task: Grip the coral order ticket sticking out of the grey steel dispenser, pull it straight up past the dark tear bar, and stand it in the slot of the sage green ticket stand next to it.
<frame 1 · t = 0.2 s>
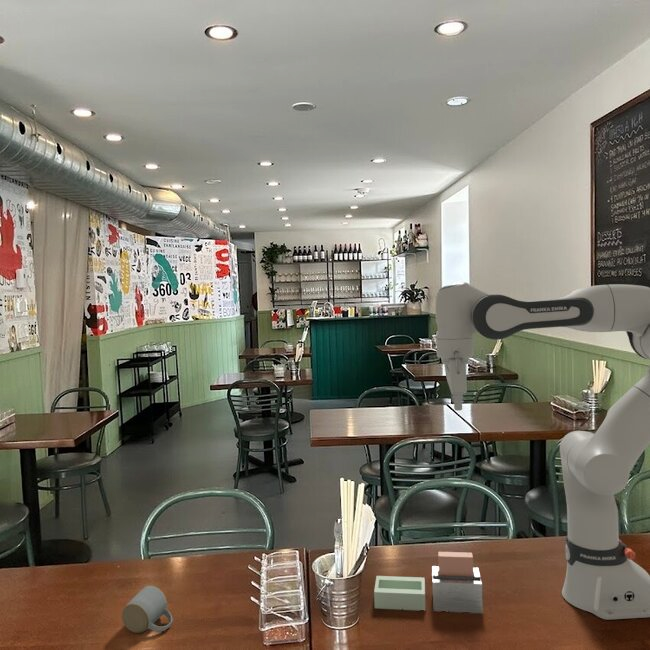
hand: (456, 406, 140), 47 cm above the table, tool pointing down, fingers open, 8 cm apart
ticket stand: (400, 600, 140), on the table
wineglass: (345, 563, 161), on the table
ceramic mug: (150, 626, 134), on the table
dispenser: (456, 603, 138), on the table
ticket: (456, 595, 138), point 2 cm above the table, touching dispenser
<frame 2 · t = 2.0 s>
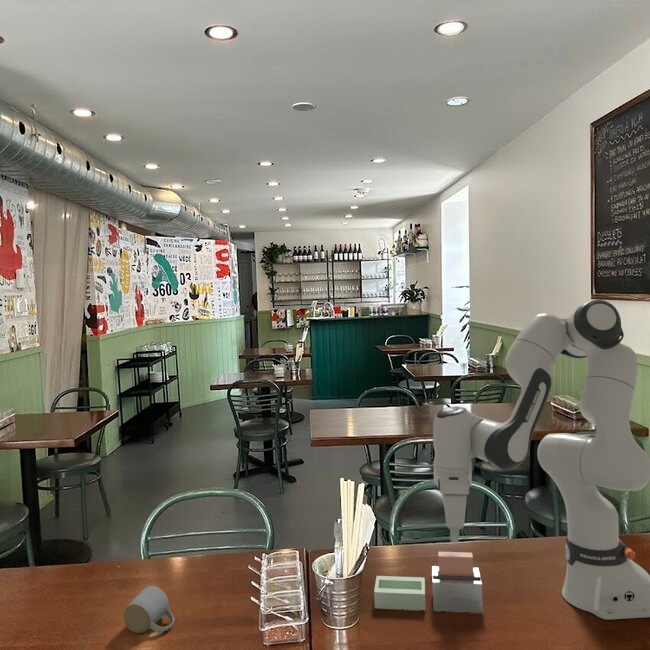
hand: (453, 533, 137), 17 cm above the table, tool pointing down, fingers open, 8 cm apart
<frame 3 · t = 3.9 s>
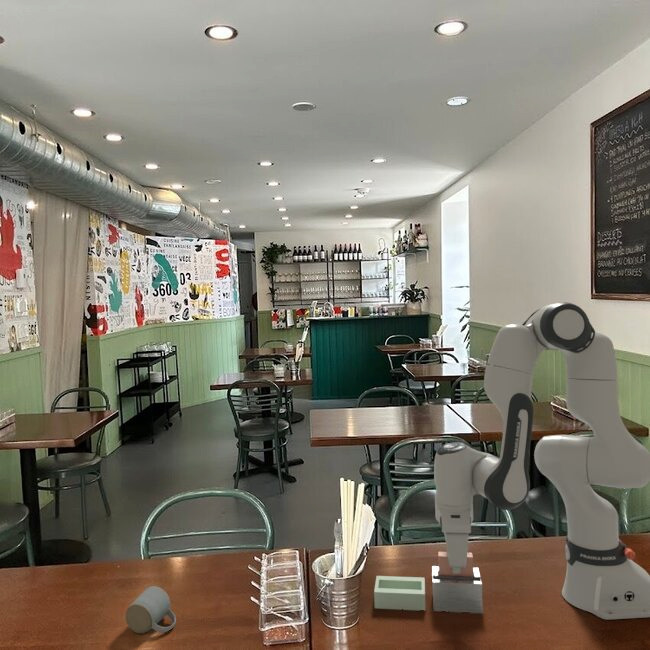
hand: (455, 568, 137), 9 cm above the table, tool pointing down, fingers closed on ticket, 2 cm apart
ticket: (456, 595, 138), point 2 cm above the table, touching dispenser, gripper
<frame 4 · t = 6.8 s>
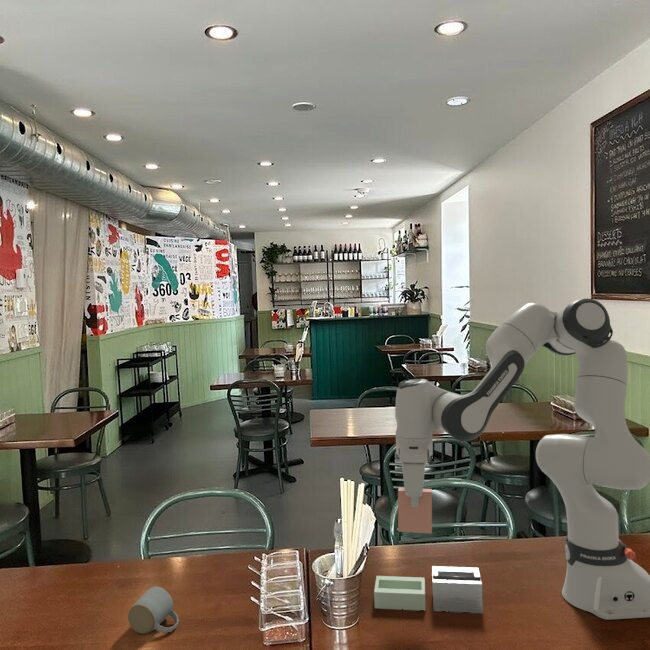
hand: (415, 503, 138), 24 cm above the table, tool pointing down, fingers closed on ticket, 2 cm apart
ticket: (415, 530, 139), point 17 cm above the table, touching gripper
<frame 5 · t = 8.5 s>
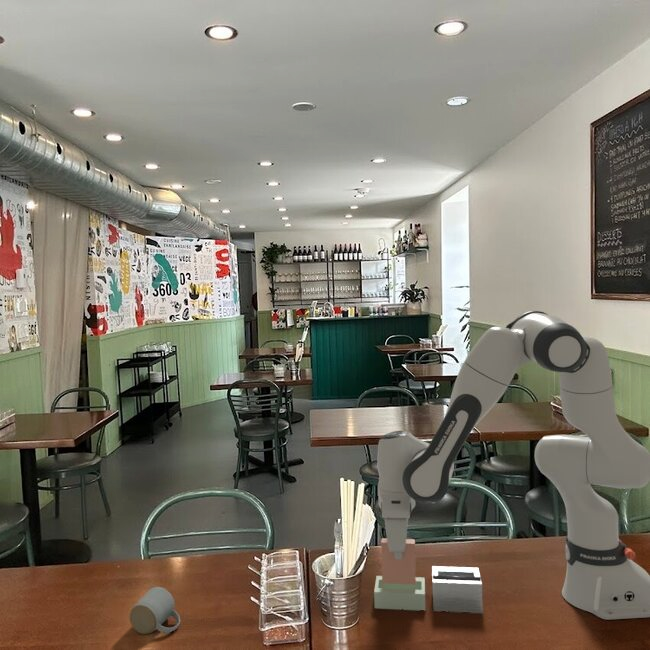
hand: (398, 554, 139), 12 cm above the table, tool pointing down, fingers closed on ticket, 2 cm apart
ticket: (399, 581, 139), point 5 cm above the table, touching gripper
when the fingers open (9 cm above the table, at t = 9.7 s): ticket drops 2 cm, resting on ticket stand.
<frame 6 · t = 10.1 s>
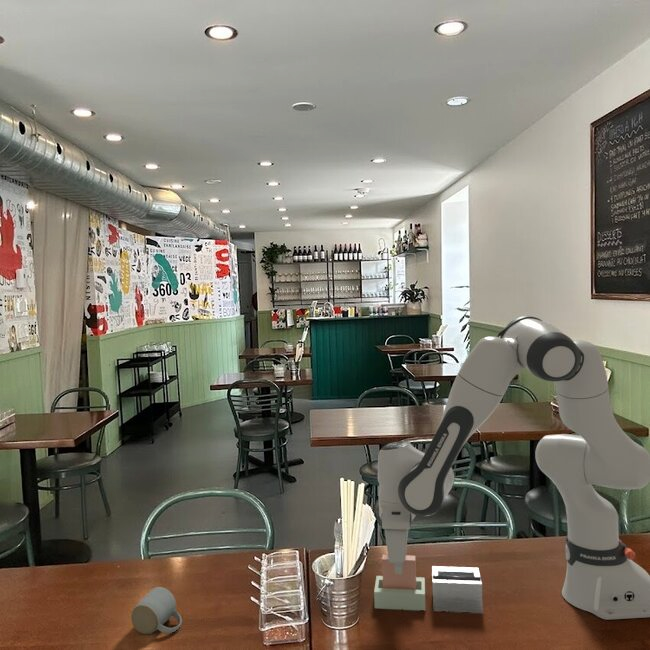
hand: (399, 564, 139), 9 cm above the table, tool pointing down, fingers open, 7 cm apart
ticket: (400, 597, 140), point 1 cm above the table, touching ticket stand
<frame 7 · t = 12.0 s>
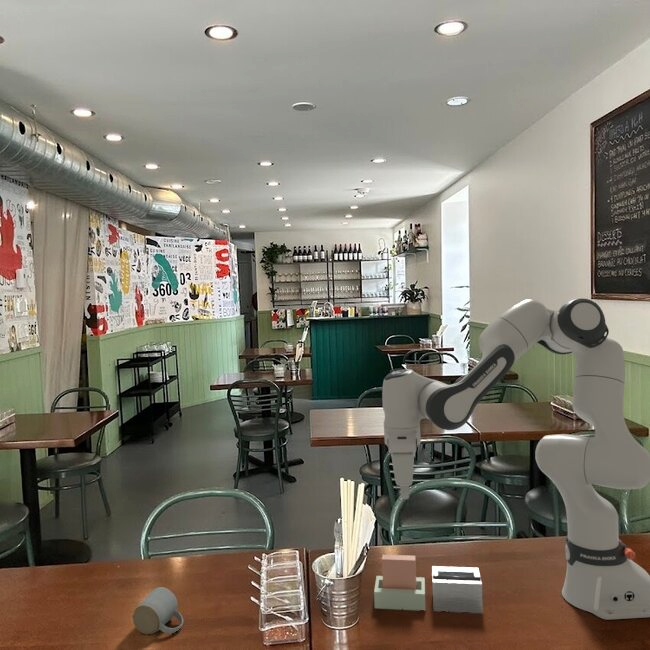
hand: (405, 490, 141), 26 cm above the table, tool pointing down, fingers open, 8 cm apart
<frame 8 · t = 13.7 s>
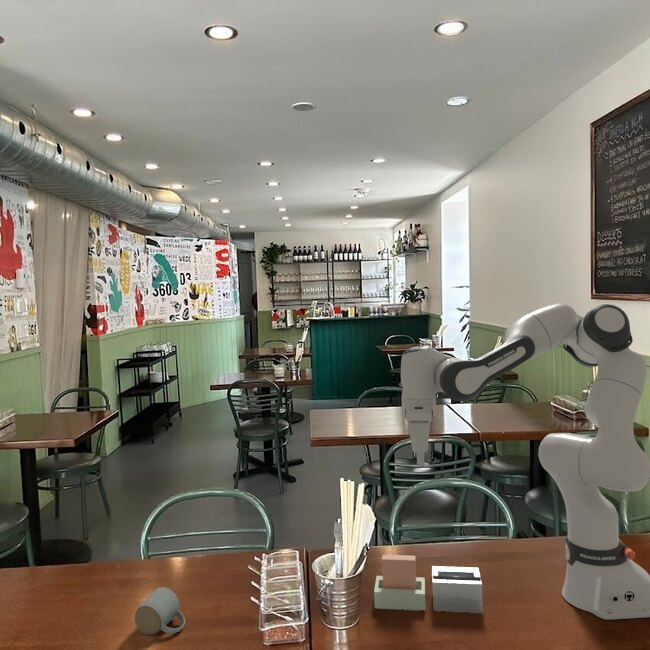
hand: (420, 460, 150), 31 cm above the table, tool pointing down, fingers open, 8 cm apart
at the end: ticket 0.0 cm off-centre on the ticket stand, point 0.8 cm above the ticket stand's base; ticket tilted 0°; the gripper is holding nothing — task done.
